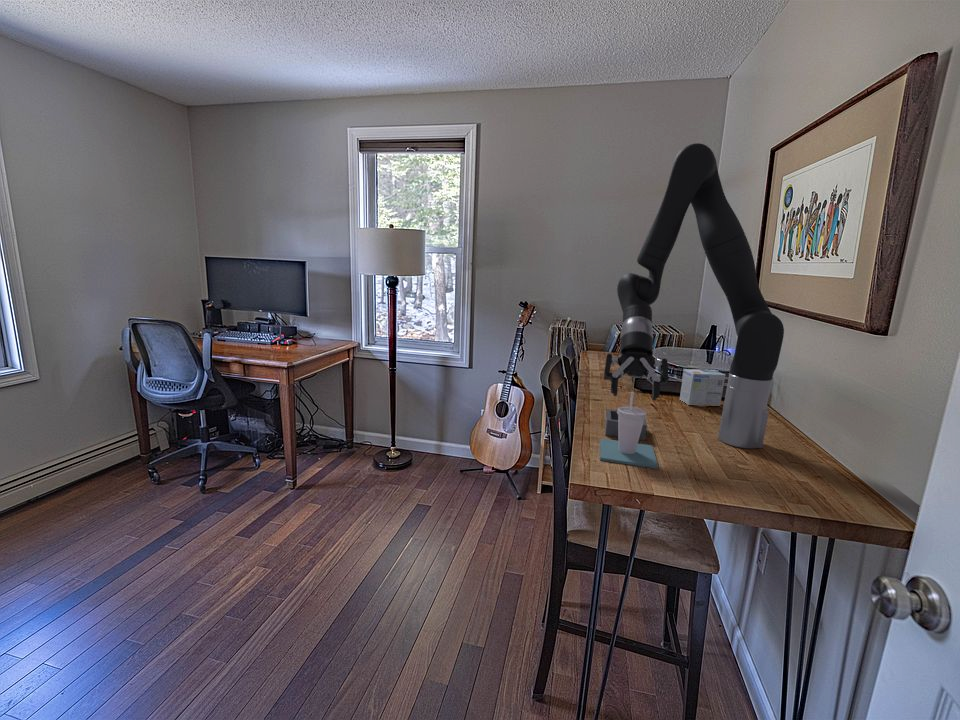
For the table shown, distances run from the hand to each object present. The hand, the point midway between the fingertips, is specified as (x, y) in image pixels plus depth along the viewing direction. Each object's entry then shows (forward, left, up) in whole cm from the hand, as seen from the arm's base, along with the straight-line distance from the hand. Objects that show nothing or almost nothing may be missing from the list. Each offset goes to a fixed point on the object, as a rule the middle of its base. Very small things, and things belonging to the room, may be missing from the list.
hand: (634, 396), depth 106 cm
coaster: (0, +3, -13) cm, 13 cm away
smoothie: (0, +2, -12) cm, 13 cm away
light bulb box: (-25, -49, -13) cm, 57 cm away
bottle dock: (0, -12, -13) cm, 18 cm away
